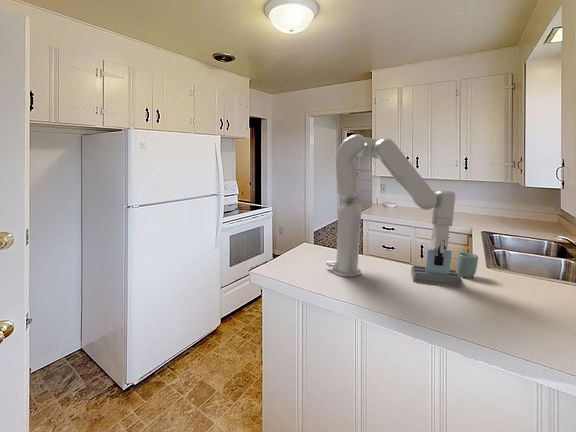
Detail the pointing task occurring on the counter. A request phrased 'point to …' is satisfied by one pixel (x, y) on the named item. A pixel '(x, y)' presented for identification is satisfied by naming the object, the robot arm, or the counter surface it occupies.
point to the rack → (435, 277)
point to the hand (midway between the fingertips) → (437, 264)
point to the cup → (467, 264)
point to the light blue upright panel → (435, 268)
